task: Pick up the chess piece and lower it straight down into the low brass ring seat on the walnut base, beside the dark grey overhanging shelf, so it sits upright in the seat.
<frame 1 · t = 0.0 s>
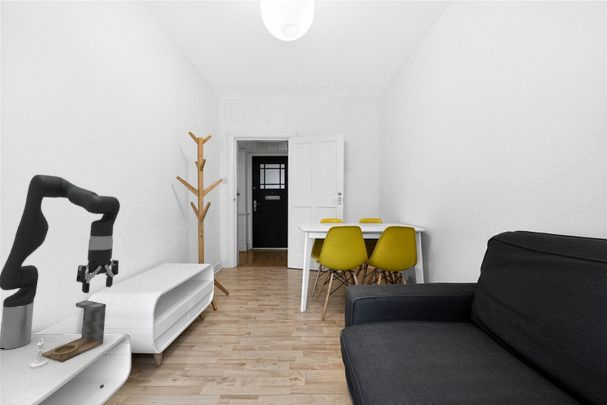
hand: (97, 289, 105), 29 cm above the table, fingers open, 8 cm apart
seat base: (64, 354, 111), on the table
chess piece: (39, 365, 103), on the table
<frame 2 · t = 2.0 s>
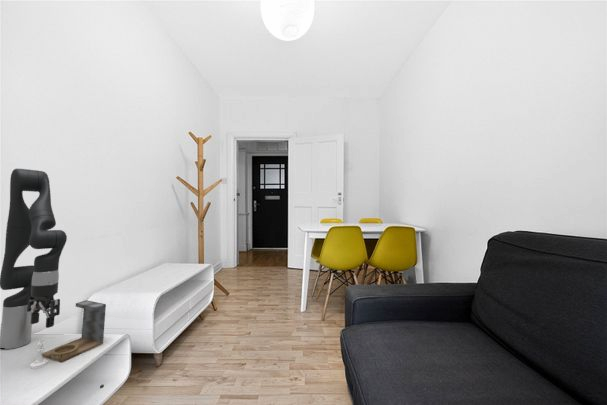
hand: (42, 325, 104), 15 cm above the table, fingers open, 8 cm apart
nothing on the table moved.
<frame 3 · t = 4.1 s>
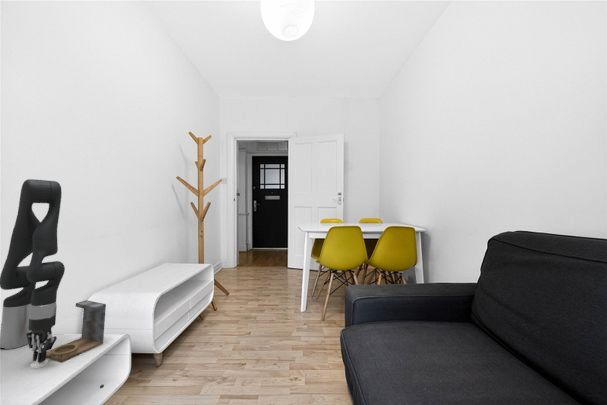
hand: (39, 360, 103), 2 cm above the table, fingers closed on chess piece
chess piece: (39, 365, 103), on the table, touching gripper
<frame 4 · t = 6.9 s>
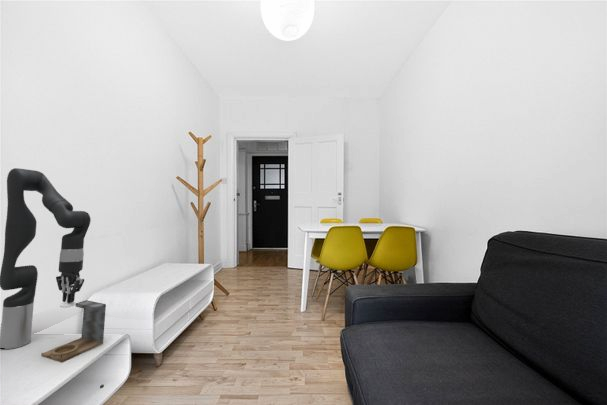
hand: (68, 301, 111), 22 cm above the table, fingers closed on chess piece
chess piece: (67, 306, 111), point 20 cm above the table, touching gripper
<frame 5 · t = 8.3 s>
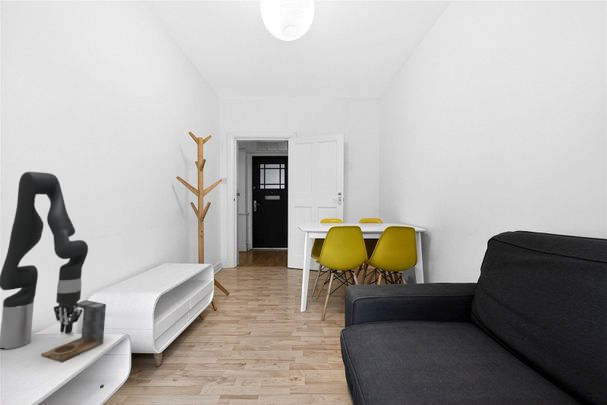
hand: (66, 332, 111), 9 cm above the table, fingers closed on chess piece
chess piece: (65, 336, 111), point 7 cm above the table, touching gripper
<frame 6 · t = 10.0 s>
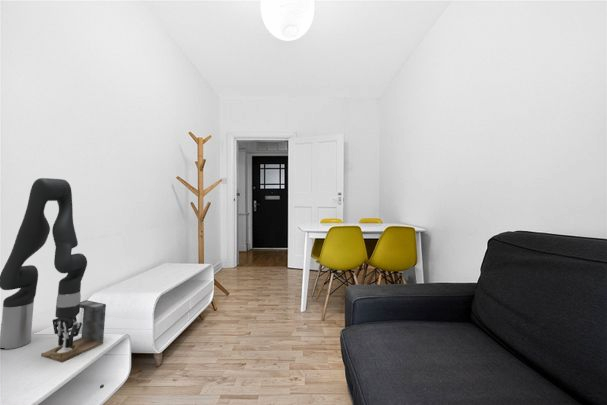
hand: (65, 345, 111), 4 cm above the table, fingers open, 3 cm apart
chess piece: (64, 352, 111), point 1 cm above the table, touching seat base
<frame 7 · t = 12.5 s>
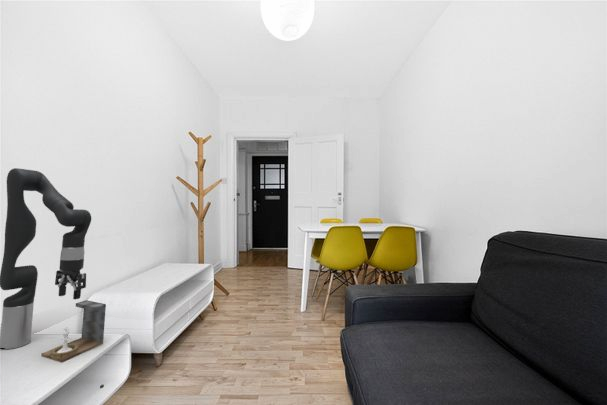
hand: (69, 297, 112), 23 cm above the table, fingers open, 8 cm apart
nothing on the table moved.
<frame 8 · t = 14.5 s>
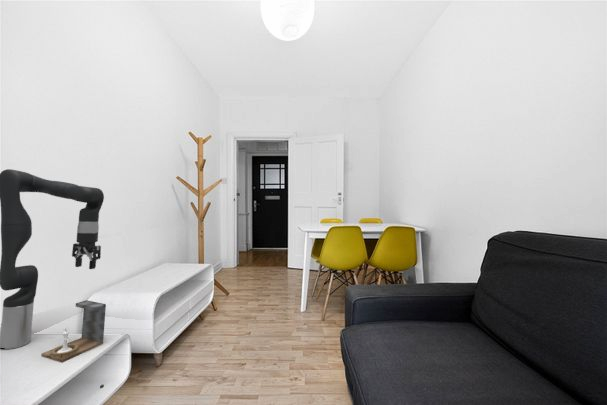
hand: (85, 267, 122), 33 cm above the table, fingers open, 8 cm apart
nothing on the table moved.
at the end: chess piece 0.1 cm off-centre on the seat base, point 0.8 cm above the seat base's base; chess piece tilted 0°; the gripper is holding nothing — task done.
